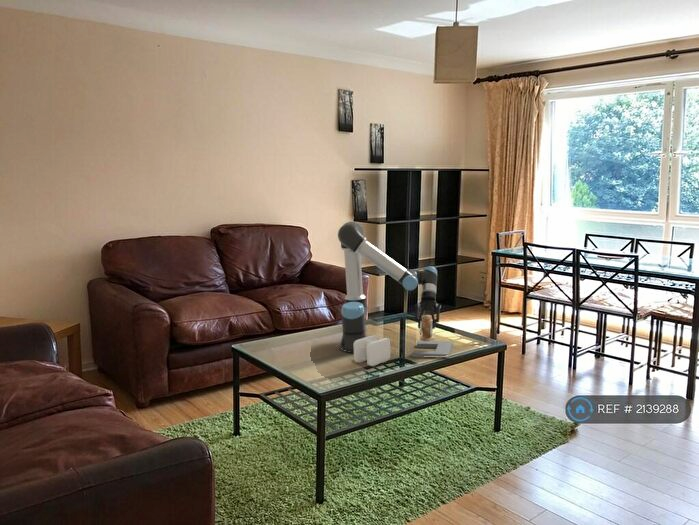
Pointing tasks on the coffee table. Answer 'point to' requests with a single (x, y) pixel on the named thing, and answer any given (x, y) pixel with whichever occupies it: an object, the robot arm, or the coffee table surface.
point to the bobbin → (426, 328)
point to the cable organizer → (372, 350)
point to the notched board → (441, 347)
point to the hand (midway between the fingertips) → (425, 334)
